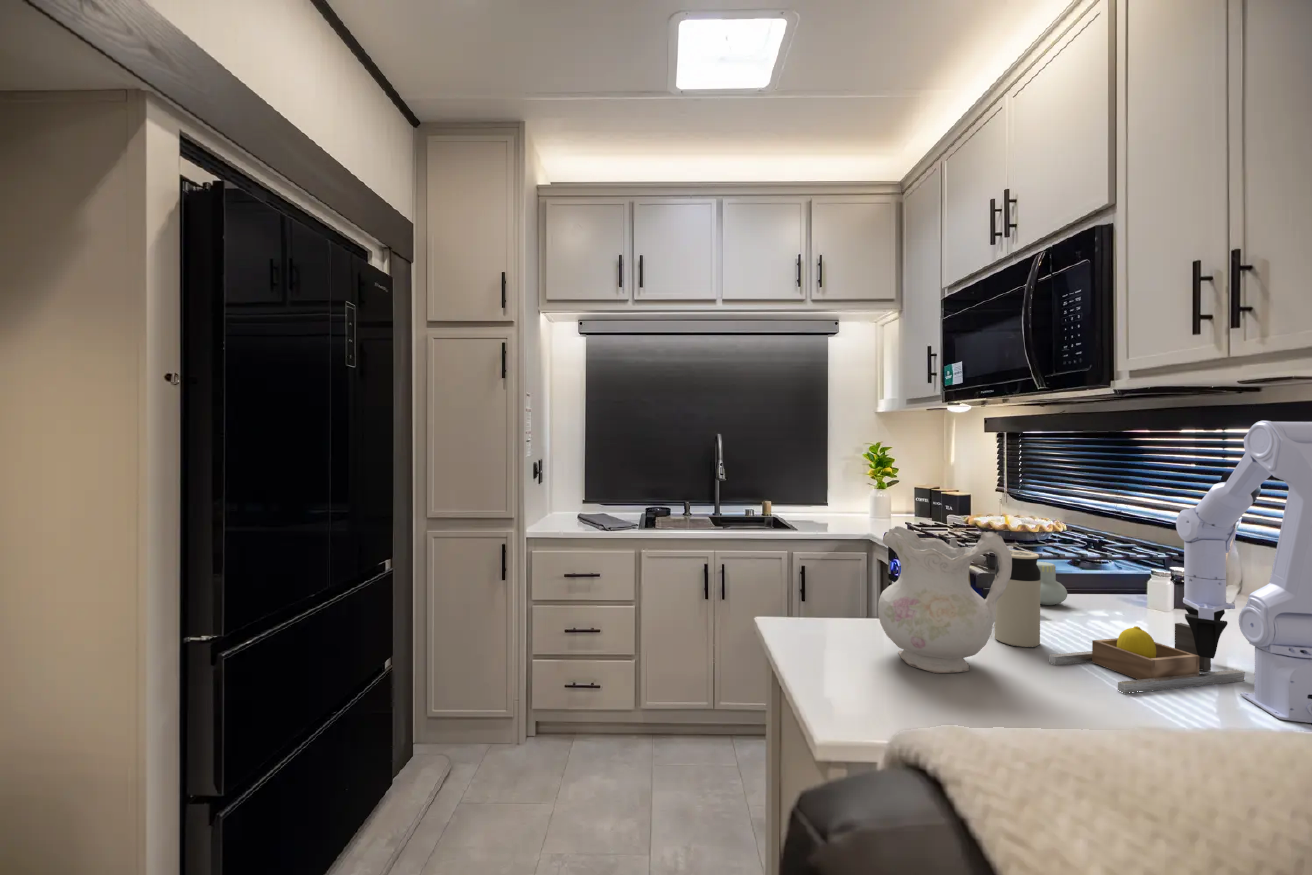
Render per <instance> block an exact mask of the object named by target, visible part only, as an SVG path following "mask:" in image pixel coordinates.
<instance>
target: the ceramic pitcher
mask: <svg viewBox="0 0 1312 875" xmlns="http://www.w3.org/2000/svg"><path fill="white" fill-rule="evenodd" d="M978 535H980V538H979V539H978V541H977V542H976V545H975V546H973V547H972V548H971V547H967V546H964V547H963V546H962V547H958V548H953V547H951V546H950V545H949V543H947V542H945V540H942V539H940V538H929V537H928V538H927V537H926V538H922V539H921V538H920V537H919V536H918V534H917V533H916V532H915V531H914V530H912V529H907V528H904V527H903V526H894V527H893V528H889V529H888V531H887V532H885V534H884V536H883V538H882V543H883V545H885V546H886V547H889V548H891V550H893V551H894V553H896V555H897V557H898V560H899V562H900V574H899V576H898V579H897V580H896V581H894V583H893V582H892V583H891V584H890V585H888V586H887V587H886V588H885V589H884V590H882V592H881V594H880V596H879V600H878V605H877V608H878V609H877V610H878V611H877V612H878V619H879V623H880V625H881V627H882V630H883V632H884V633H885V635H886V637H888V639H889V640H891V641H892V642H893V644H895V645H896V647H897V648H899V649H901V650H898V651H897V654H898V655H899V657H900V658H901V659H902V660H903V661H904V662H905V664H907V665H908V666H910V667H913V668H917V669H919V670H924V671H926V672H930V673H933V674H950V673H951V674H953V673H962V672H970V665H969V663H968V662H967V661H966V660H965V658H969V657H973V656H976V655H977V654H978V653H979V652H980V651H981V650H982V649H983V648H984V647H985V646H986V645H987V643H988V642H989V639H990V637H991V635H992V630H993V625H994V624H995V620H996V603H997V601H998V599H999V598H1000V597H1001V596H1002V595H1003V592H1004V590H1005V588H1006V586H1007V584H1008V581H1009V579H1010V577H1011V571H1012V556H1011V553H1010V551H1009V550H1010V549H1009V547H1008V546H1007V545H1006V543H1005V541H1004V539H1003V537H1002V535H999V532H998V531H996V532H995V531H993V530H992V531H987V532H986V531H982V532H979V533H978ZM989 553H993V554H994V555H996V557H997V563H998V566H999V571H998V573H997V576H996V578H995V577H994V579H993V581H992V583H991V585H990V588H989V592H988V594H987V595H986V598H983V597H982V596H981V595H980V594H979V593H977V592H976V591H975V590H974V589H973V587H972V586H970V585H971V583H970V584H969V581H968V575H970V566H971V563H972V562H973V561H974V560H977V559H978V558H979V557H980V556H982V555H985V554H989Z"/></svg>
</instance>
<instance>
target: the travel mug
mask: <svg viewBox="0 0 1312 875" xmlns="http://www.w3.org/2000/svg"><path fill="white" fill-rule="evenodd" d="M1009 551H1010V553H1011V556H1012V571H1011V577H1010V579H1009V581H1008V584H1007V586H1006V588H1005V590H1004V592H1003V595H1002V596H1001V597H1000V598H999V599H998V601H997V603H996V620H995V622H994V638H995V640H997V641H998V642H1000V643H1003V644H1005V645H1008V646H1012V647H1018V648H1035V647H1038V646H1039V645H1040V644H1041V605H1040V579H1041V572H1040V570H1039V568H1038V566H1037V561H1038V559H1039V558H1040V555H1039V554H1038V553H1035V552H1030V551H1024V550H1015V549H1014V550H1013V549H1009ZM998 571H999V566H998V562H997V564H996V565H995V568H994V579H995V578H996V576H997V573H998Z"/></svg>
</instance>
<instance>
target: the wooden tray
mask: <svg viewBox="0 0 1312 875" xmlns="http://www.w3.org/2000/svg"><path fill="white" fill-rule="evenodd" d="M1117 640H1118V637H1117V638H1116V637H1115V638H1105V639H1093V640H1092V642H1091V643H1092V644H1091V646H1092V649H1091V651H1092V662H1091V663H1093V664H1096V665H1099V666H1101V667H1104V668H1107V669H1109V670H1111V671H1114V672H1117V673H1119V674H1122V675H1125V676H1127V677H1130V678H1133V679H1134V680H1141V679H1151V678H1160V677H1170V676H1179V675H1189V674H1199V673H1200V671H1203V672H1208V671H1209V672H1210V671H1211V669H1212V666H1211V665H1212V663H1211V662H1212V661H1211V660H1212V658H1206V657H1200V656H1198V654H1197V651H1196V647H1195V642H1194V637H1193V633H1192V630H1191V628H1190V626H1189V624H1187V623H1182V622H1175V623H1174V647H1172V646H1169V645H1165V644H1162V643H1159V642H1156V641H1154V642H1155V646H1156V658H1147V657H1144V656H1141V655H1138V654H1135V653H1132V652H1130V651H1127V650H1124V649H1121V648H1118V647H1117Z"/></svg>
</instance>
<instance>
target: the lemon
mask: <svg viewBox="0 0 1312 875" xmlns="http://www.w3.org/2000/svg"><path fill="white" fill-rule="evenodd" d="M1117 638H1118V640H1117V647H1118V648H1121V649H1124V650H1127V651H1130V652H1132V653H1135V654H1138V655H1141V656H1144V657H1147V658H1156V646H1155V642H1156V641H1155V640H1154V639H1153V637H1152V636H1151V635H1150V634H1149V633H1148V632H1147V631H1145V630H1143V629H1142V628H1141V627H1140V626H1135V625H1134V627H1130V628H1126V629H1124V630H1122V631H1121V632H1120V633H1119V635H1118V637H1117Z"/></svg>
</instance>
